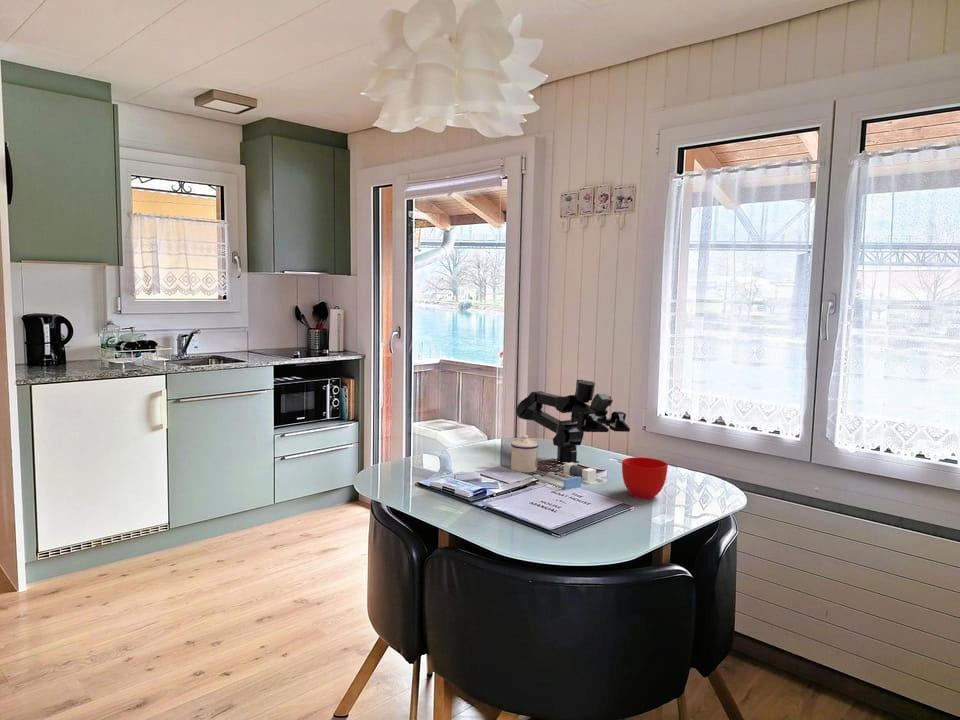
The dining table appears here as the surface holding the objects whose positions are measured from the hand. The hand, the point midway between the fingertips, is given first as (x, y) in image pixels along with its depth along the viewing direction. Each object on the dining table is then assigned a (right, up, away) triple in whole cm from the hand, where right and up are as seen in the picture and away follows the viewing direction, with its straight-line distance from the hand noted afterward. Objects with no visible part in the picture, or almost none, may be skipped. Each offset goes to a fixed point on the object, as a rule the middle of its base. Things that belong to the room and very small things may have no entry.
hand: (618, 430), depth 214 cm
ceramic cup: (+5, -18, -13) cm, 22 cm away
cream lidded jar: (-30, -14, +13) cm, 35 cm away
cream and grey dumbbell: (-12, -15, +2) cm, 20 cm away
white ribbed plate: (-16, -16, -1) cm, 23 cm away
